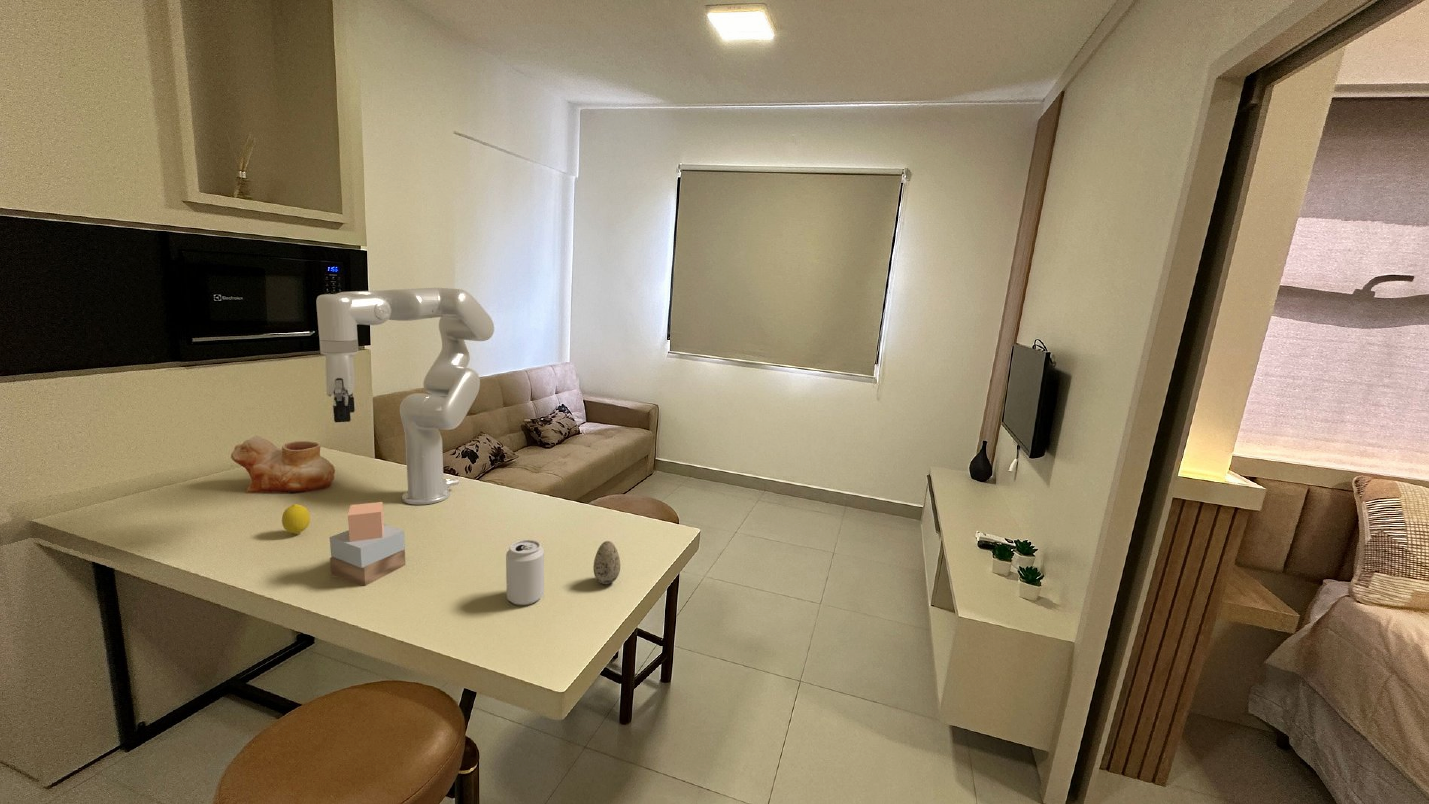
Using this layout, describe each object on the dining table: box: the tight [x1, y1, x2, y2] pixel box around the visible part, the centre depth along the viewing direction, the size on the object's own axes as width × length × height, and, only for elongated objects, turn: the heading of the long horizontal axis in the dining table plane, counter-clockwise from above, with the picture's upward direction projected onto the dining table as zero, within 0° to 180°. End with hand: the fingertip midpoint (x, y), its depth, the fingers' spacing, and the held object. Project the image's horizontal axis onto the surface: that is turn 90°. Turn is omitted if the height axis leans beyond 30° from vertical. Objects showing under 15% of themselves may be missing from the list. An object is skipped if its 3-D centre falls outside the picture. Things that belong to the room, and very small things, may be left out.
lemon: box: [281, 503, 311, 536], centre depth 136 cm, size 6×6×8 cm
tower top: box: [329, 524, 406, 568], centre depth 121 cm, size 10×10×4 cm
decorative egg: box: [592, 540, 621, 585], centre depth 123 cm, size 6×6×10 cm
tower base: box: [329, 548, 407, 587], centre depth 122 cm, size 10×10×4 cm
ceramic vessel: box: [230, 435, 336, 494], centre depth 164 cm, size 14×26×15 cm, turn 97°
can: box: [505, 538, 545, 606], centre depth 114 cm, size 8×8×12 cm
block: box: [347, 501, 385, 542], centre depth 120 cm, size 6×6×6 cm
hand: (345, 416), depth 134 cm, fingers open, 9 cm apart
